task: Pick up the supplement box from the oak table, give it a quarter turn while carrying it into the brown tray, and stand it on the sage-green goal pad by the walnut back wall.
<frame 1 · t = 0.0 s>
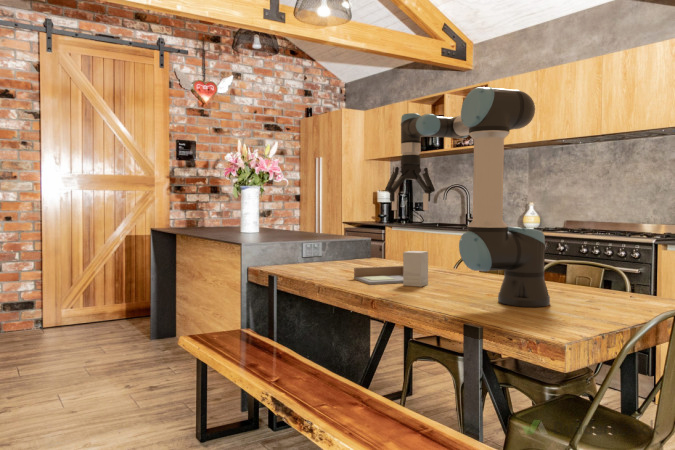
hand: (410, 210, 205), 28 cm above the table, fingers open, 13 cm apart
supplement box: (415, 285, 200), on the table
brown tray: (387, 280, 211), on the table
goal pad: (378, 280, 210), resting on brown tray
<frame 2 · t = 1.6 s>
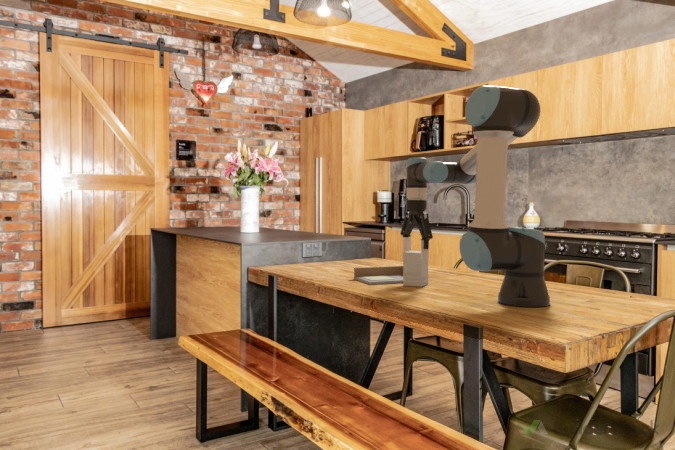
hand: (415, 256, 200), 11 cm above the table, fingers open, 13 cm apart
nothing on the table moved.
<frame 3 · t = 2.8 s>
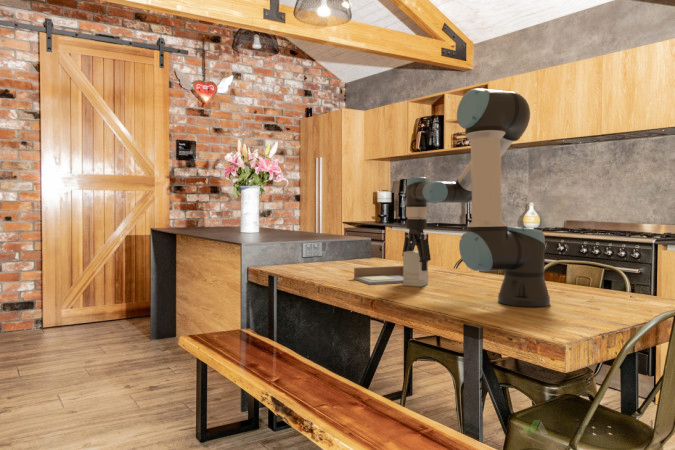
hand: (415, 277, 200), 3 cm above the table, fingers closed on supplement box, 10 cm apart
supplement box: (415, 285, 200), on the table, touching gripper
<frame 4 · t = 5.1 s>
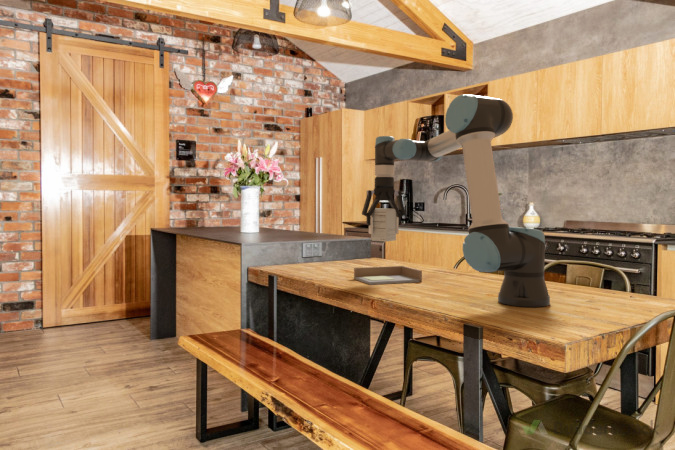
hand: (383, 233, 208), 19 cm above the table, fingers closed on supplement box, 10 cm apart
supplement box: (383, 241, 208), point 16 cm above the table, touching gripper
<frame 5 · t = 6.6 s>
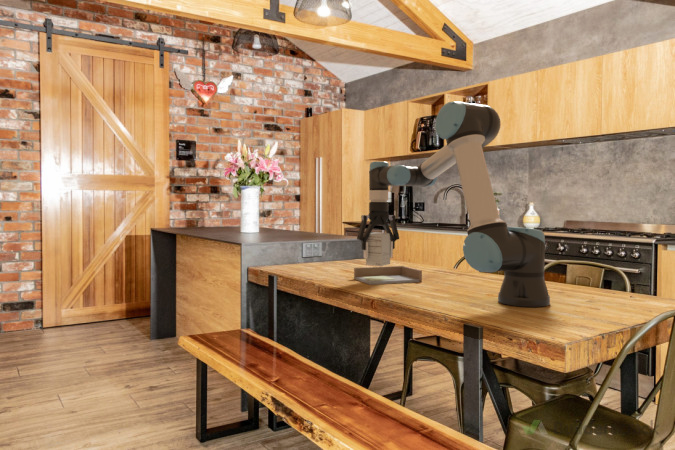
hand: (378, 257, 210), 9 cm above the table, fingers closed on supplement box, 10 cm apart
supplement box: (378, 265, 210), point 6 cm above the table, touching gripper
when the fingers open (6 cm above the table, at t = 7.7 s): supplement box drops 2 cm, resting on goal pad.
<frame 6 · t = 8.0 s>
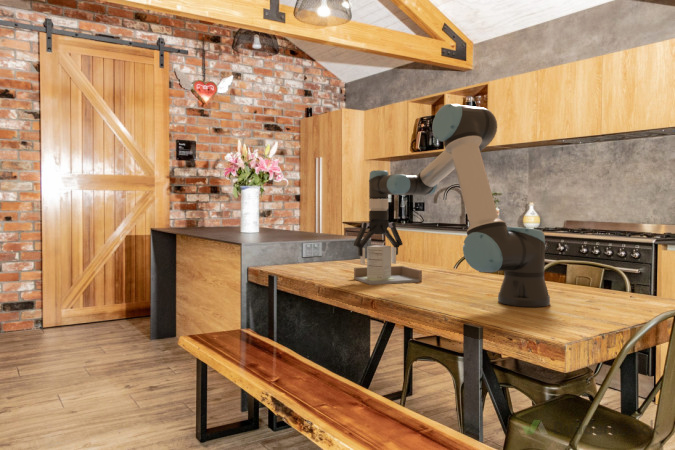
hand: (378, 264, 210), 7 cm above the table, fingers open, 13 cm apart
supplement box: (378, 278, 210), point 1 cm above the table, touching goal pad
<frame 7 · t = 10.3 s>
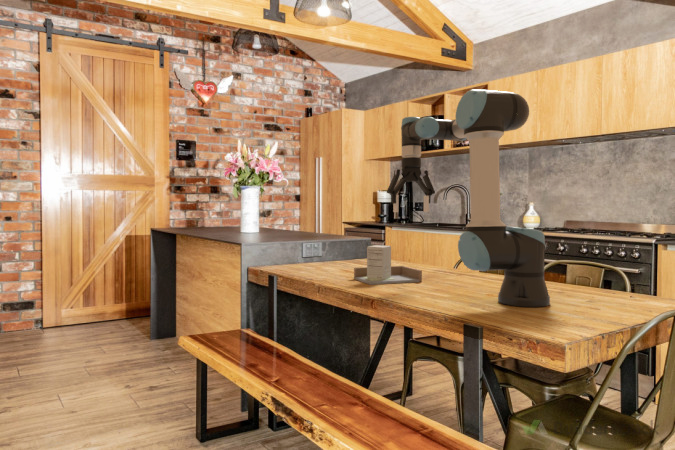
hand: (411, 212, 208), 27 cm above the table, fingers open, 13 cm apart
nothing on the table moved.
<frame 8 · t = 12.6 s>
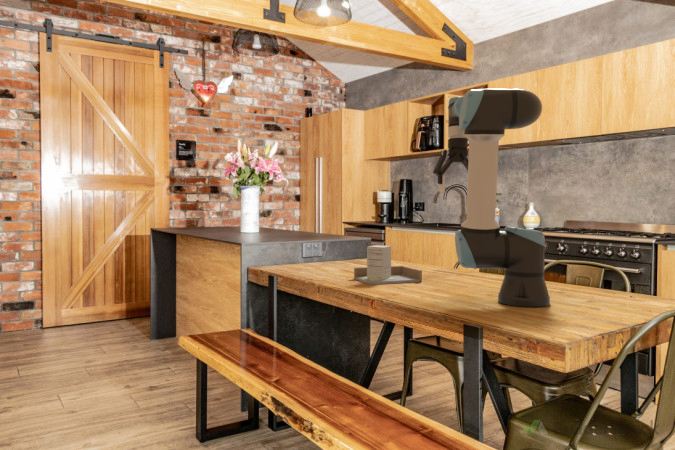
hand: (457, 193, 207), 35 cm above the table, fingers open, 13 cm apart
nothing on the table moved.
at the end: supplement box 0.3 cm from the goal pad (horizontally); supplement box tilted 0°; the gripper is holding nothing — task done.
